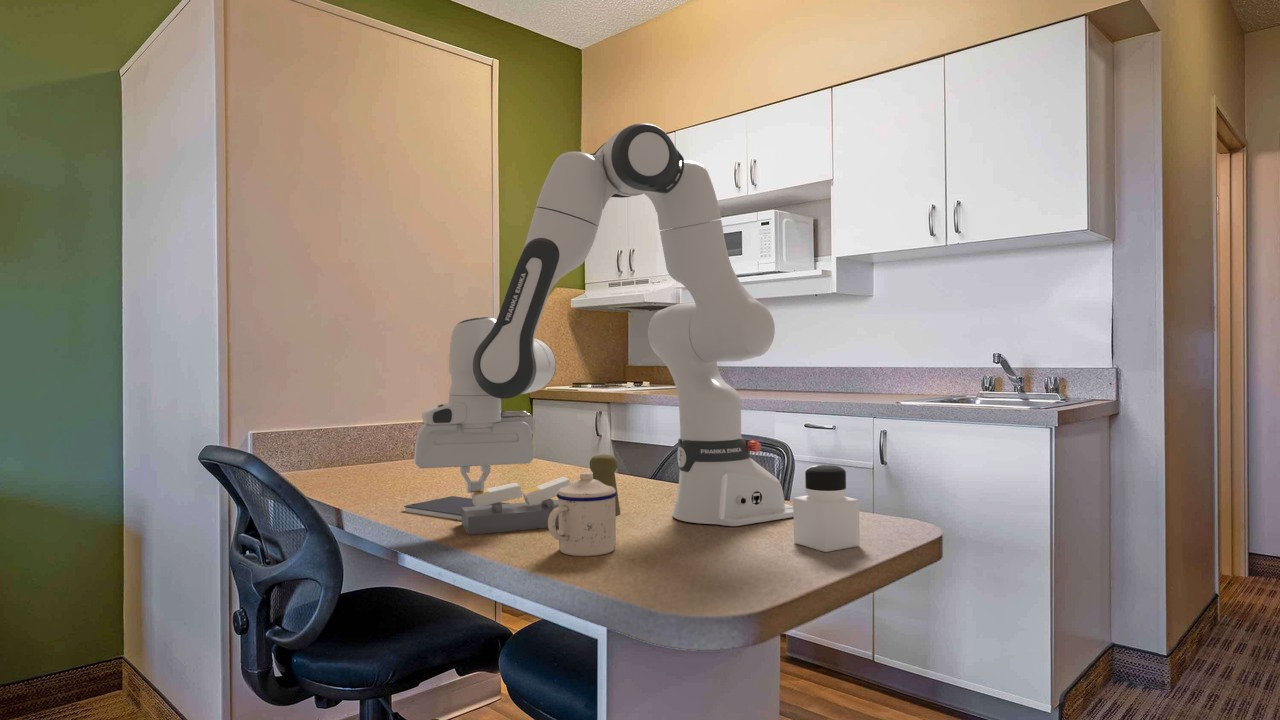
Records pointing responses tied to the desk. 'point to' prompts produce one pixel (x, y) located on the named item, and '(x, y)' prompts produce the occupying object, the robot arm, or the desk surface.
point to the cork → (606, 473)
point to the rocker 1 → (496, 494)
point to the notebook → (443, 507)
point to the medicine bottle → (826, 511)
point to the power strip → (507, 517)
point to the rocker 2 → (544, 491)
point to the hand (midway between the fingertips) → (475, 492)
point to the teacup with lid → (585, 518)
